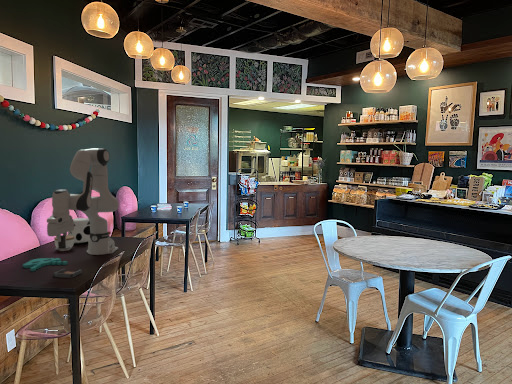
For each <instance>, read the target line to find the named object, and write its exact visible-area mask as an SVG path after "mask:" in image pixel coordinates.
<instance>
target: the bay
mask: <svg viewBox="0 0 512 384" xmlns="http://www.w3.org/2000/svg"><path fill="white" fill-rule="evenodd" d="M82 271H83V270H82V269H78V270H77V271H73V272H74V273H72V274H66V273H64V272H66V268H62V269H60V270H57V271H54V272H53V273H52V277H53V278H67V279H73V278H74V277H77V276H79V275H81V274H82Z"/></svg>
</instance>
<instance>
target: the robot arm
mask: <svg viewBox="0 0 512 384" xmlns="http://www.w3.org/2000/svg"><path fill="white" fill-rule="evenodd" d="M72 158H73V159H72V161H71V164H70V167H69V172H70V174H71V176H73V178H75V179H76V180H79V181H82V182H83V186H82V187H83V188H82V192H81V193H70V192H69V191H68V190H67V189H65V188H64V189H63V188H62V189H61V188H60V189H56V190H54V191H52V192H53V193H52V198H51V205H52V206H51V207H52V214H51V215H50V216H49V217H47V219H46V223H47V225H46V231H47V232H46V234H47V236H48V237H57V239H58V242H61V241H62V238H61V237H60V236H61V235H65V240H66V236H67V235H68V232H69V231H72V230H74V221H73V219H74V218H73V216H72V215H70V211H79V212H81V213H83V214H84V215H85V216H86V217H87V218H88V219H89V222H90V240H89V242H87V243H88V244H87V245H88V246H87V250H85V251H86V253H87V254H89V255H96V256H99V255H100V256H101V255H107V254H108V255H110V254H113V253H115V252H116V251H118V250H119V247H118V246H115V243H116V242H115V241H114V240H113V238H111V237H110V235H111V234H112V231H108V229H109V228H108V227H109V223H108V220H107V219H106V218H104V217H102V216H100V214H99V213H113V212H116V211H117V210H118V209H119V207H120V206H119V205H120V203H119V200H118V199H117V197H115V196H114V195H113V194H112V193H111V191H110V190H109V183H108V182H109V181H108V177H109V175H108V174H109V173H108V166H107V164H108V163H109V160H110V153H109V151H108V149H106V148H100V147H99V148H95V147H94V148H86V149H79V150H77V151H76V152H75V155H74V156H73V157H72ZM92 191H95V192H97V193H98V194H99V195H98V196H92Z"/></svg>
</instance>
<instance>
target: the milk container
mask: <svg viewBox="0 0 512 384" xmlns="http://www.w3.org/2000/svg"><path fill="white" fill-rule="evenodd" d="M72 219H73V221H74V230H72V231H69V232H67V235H70V236H74V245H79V244H80V245H81V244H87V243H88V242H89V240H90V222H89V219H88V217H87V218H85V217H80V218H72Z"/></svg>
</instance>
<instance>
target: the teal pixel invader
mask: <svg viewBox="0 0 512 384" xmlns="http://www.w3.org/2000/svg"><path fill="white" fill-rule="evenodd" d="M46 265H47V266H51V265H52V266H56V265H57V266H60V265H61V266H67V265H69V264H68V261H67V260H64V261H62V259H61V258H59V257H55V258H54V257H50V258H49V257H46V258H45V257H41V258H35V259H33V258H32V259H30V260H28V261H27V262H25V263H22V268H24V269H29V270H30V272H36V271H37V270H39V269H40V268H42V267H46ZM36 269H37V270H36Z"/></svg>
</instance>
